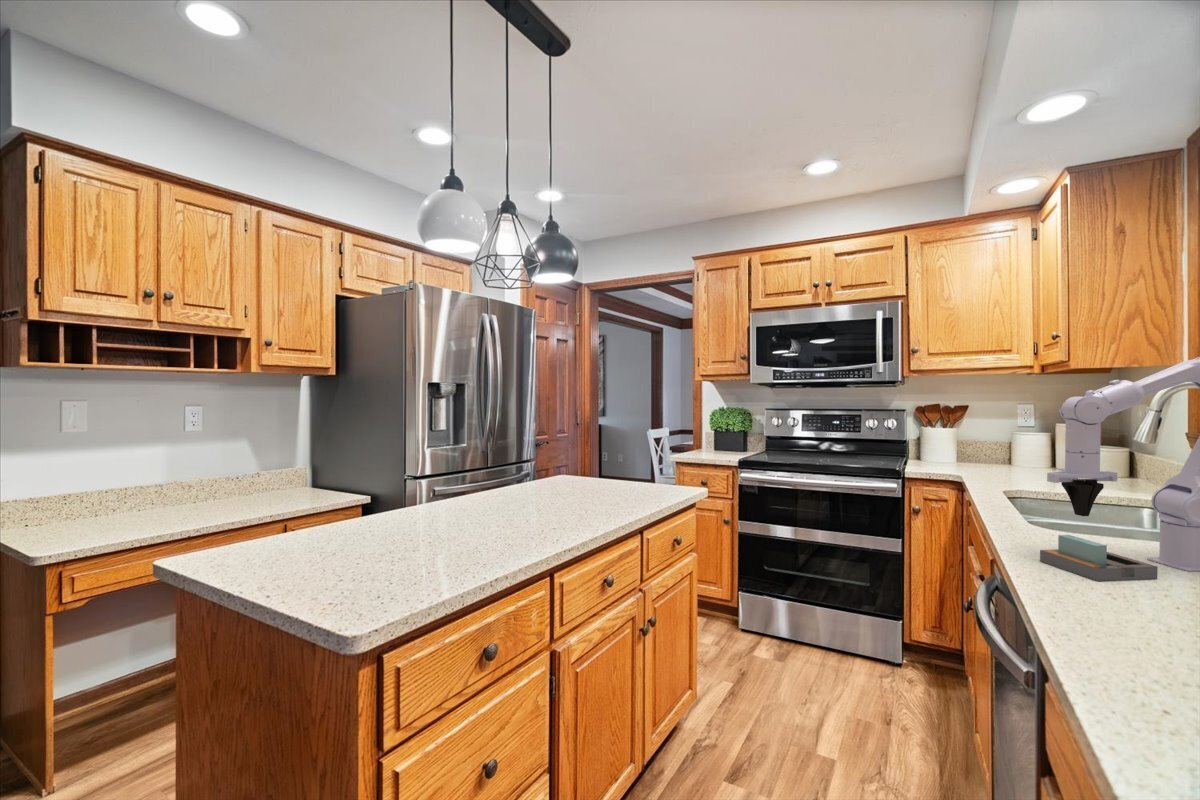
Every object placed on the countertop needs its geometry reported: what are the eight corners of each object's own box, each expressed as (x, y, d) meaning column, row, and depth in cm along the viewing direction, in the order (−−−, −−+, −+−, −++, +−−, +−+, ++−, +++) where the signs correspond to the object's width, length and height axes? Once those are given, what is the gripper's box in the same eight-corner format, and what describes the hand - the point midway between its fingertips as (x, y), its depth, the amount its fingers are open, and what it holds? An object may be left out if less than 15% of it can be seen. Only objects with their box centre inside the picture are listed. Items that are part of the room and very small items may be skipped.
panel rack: (1094, 559, 121) (1094, 546, 121) (1157, 578, 109) (1157, 565, 108) (1039, 561, 120) (1040, 548, 120) (1097, 581, 107) (1097, 567, 107)
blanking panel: (1068, 561, 118) (1068, 534, 118) (1106, 573, 110) (1106, 545, 110) (1058, 561, 118) (1058, 535, 118) (1095, 573, 110) (1095, 545, 110)
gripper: (1095, 449, 126) (1094, 510, 126) (1035, 450, 124) (1034, 512, 125) (1127, 453, 119) (1126, 517, 119) (1064, 454, 117) (1063, 519, 118)
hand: (1081, 515), depth 121 cm, fingers closed
